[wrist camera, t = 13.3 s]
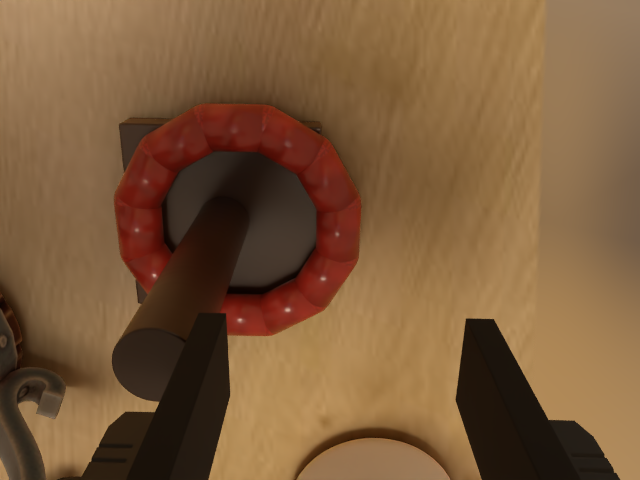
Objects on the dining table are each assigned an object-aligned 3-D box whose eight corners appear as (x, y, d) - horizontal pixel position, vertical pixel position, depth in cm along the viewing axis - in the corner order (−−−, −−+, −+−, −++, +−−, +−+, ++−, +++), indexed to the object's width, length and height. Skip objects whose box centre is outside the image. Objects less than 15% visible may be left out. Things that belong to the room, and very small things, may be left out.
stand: (146, 290, 30) (19, 490, 17) (128, 117, 27) (-44, 207, 14) (317, 294, 30) (316, 494, 17) (321, 121, 27) (322, 214, 14)
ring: (136, 320, 29) (123, 341, 27) (111, 98, 25) (94, 104, 23) (353, 324, 29) (356, 345, 27) (364, 103, 25) (368, 110, 23)
